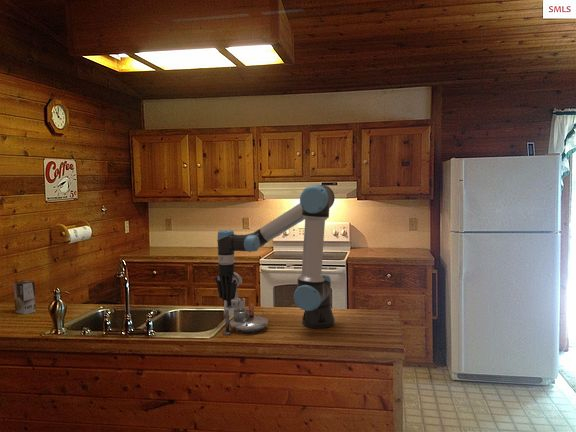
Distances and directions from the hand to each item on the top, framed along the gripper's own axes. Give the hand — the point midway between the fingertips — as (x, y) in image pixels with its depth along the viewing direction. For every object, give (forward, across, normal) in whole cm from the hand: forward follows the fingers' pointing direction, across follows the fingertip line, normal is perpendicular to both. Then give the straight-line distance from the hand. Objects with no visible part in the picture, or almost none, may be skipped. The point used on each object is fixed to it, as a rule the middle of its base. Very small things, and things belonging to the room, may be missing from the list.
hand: (227, 313), depth 220 cm
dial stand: (+5, +9, -10) cm, 14 cm away
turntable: (+3, +13, 0) cm, 13 cm away
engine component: (+6, -13, +20) cm, 25 cm away
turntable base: (+5, +13, 0) cm, 14 cm away
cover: (+2, +8, 0) cm, 9 cm away
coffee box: (+6, -107, -39) cm, 114 cm away
